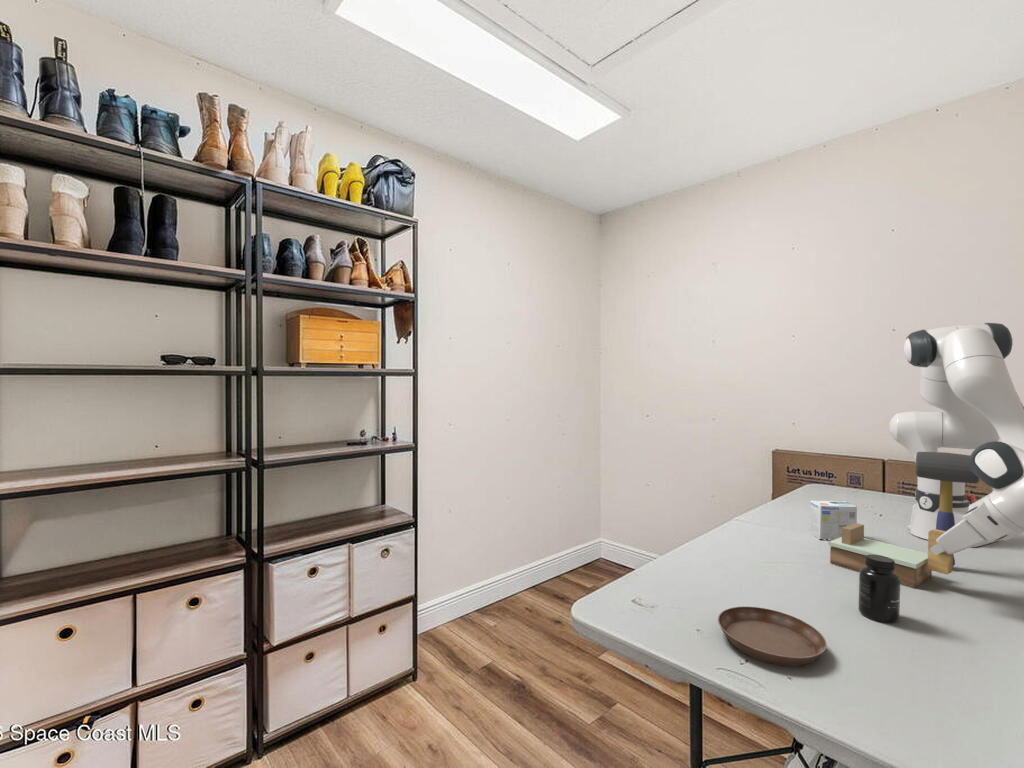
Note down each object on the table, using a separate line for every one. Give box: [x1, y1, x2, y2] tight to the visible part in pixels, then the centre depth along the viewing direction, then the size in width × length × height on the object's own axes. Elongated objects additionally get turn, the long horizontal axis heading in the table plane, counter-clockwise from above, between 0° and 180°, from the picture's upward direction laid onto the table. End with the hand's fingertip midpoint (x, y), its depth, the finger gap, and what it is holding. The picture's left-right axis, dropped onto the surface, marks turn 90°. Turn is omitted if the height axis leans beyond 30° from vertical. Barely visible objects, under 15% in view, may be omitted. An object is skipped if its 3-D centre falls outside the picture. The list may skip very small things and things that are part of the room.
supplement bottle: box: [858, 554, 901, 624], centre depth 101 cm, size 7×7×12 cm
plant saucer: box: [717, 606, 828, 667], centre depth 90 cm, size 18×18×3 cm
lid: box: [828, 522, 928, 569], centre depth 124 cm, size 12×19×5 cm, turn 33°
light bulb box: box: [809, 500, 858, 541], centre depth 150 cm, size 11×7×11 cm, turn 84°
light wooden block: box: [927, 529, 954, 576], centre depth 115 cm, size 4×4×9 cm
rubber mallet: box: [915, 451, 980, 567], centre depth 127 cm, size 12×8×30 cm, turn 47°
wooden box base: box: [829, 546, 933, 589], centre depth 124 cm, size 11×18×4 cm, turn 33°
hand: (937, 549), depth 115 cm, fingers closed on light wooden block, 4 cm apart
